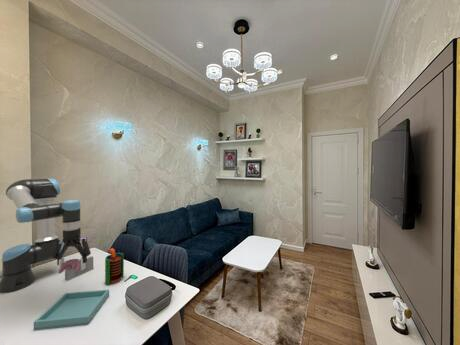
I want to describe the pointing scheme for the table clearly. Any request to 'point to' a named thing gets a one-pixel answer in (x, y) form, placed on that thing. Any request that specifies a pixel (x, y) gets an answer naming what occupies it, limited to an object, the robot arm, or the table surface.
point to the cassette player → (72, 274)
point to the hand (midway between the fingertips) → (72, 269)
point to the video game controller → (69, 264)
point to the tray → (72, 309)
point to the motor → (114, 267)
